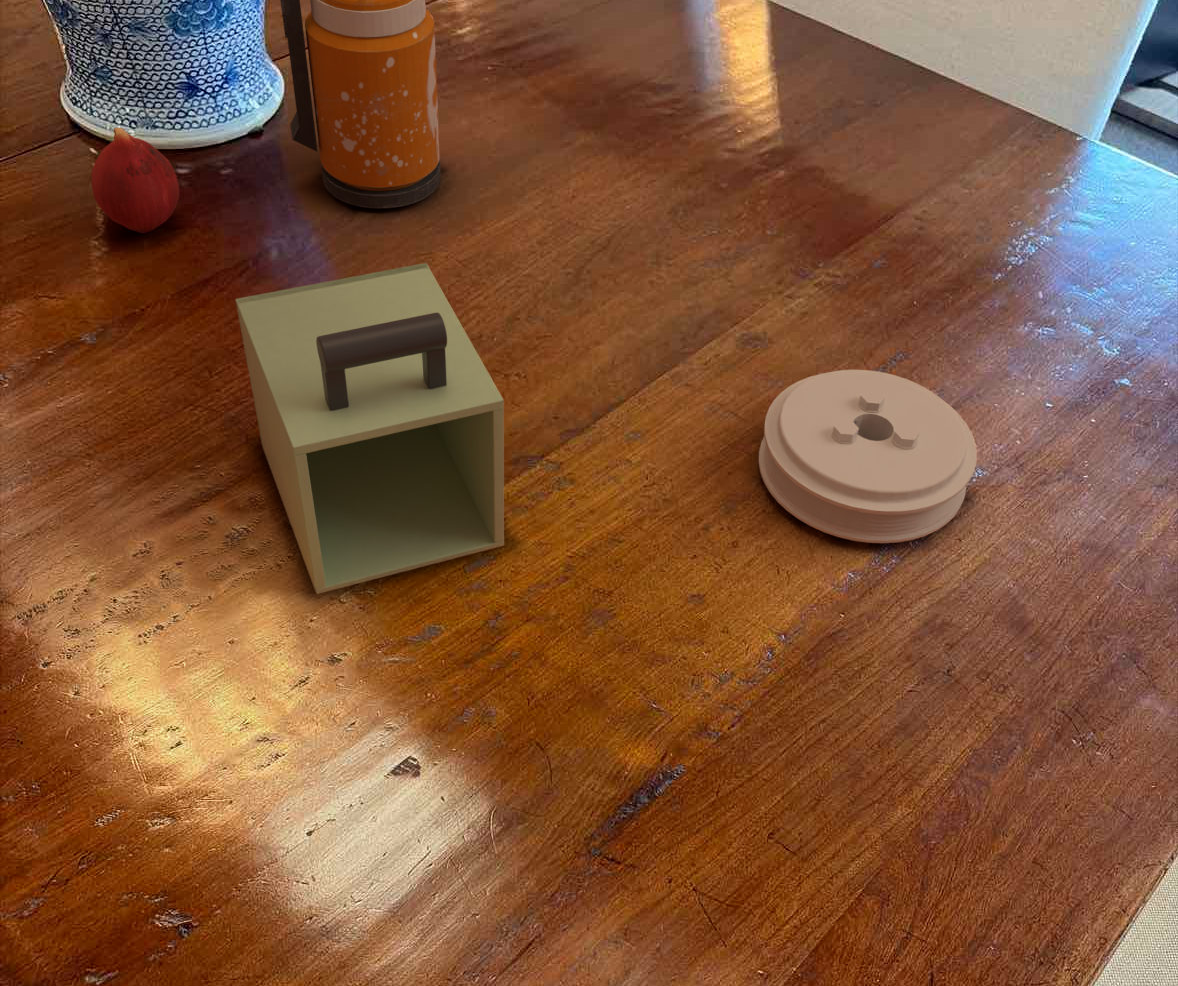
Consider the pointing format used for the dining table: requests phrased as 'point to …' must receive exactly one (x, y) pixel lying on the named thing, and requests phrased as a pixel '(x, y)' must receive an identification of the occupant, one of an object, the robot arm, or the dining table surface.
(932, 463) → the lid
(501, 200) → the dining table surface
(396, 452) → the bin
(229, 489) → the dining table surface
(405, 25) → the canister
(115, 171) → the onion
